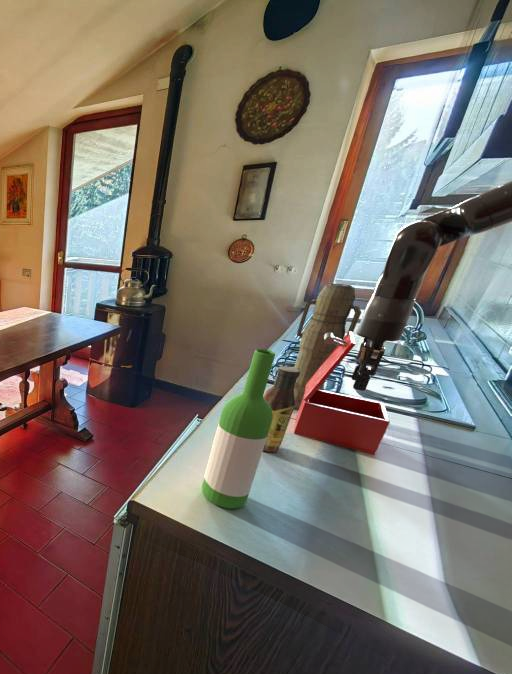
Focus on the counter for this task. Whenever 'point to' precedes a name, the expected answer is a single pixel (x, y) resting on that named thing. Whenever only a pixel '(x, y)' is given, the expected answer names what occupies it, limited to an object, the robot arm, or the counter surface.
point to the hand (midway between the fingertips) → (357, 384)
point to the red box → (343, 421)
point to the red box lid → (329, 362)
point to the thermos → (322, 332)
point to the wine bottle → (240, 438)
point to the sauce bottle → (280, 405)
